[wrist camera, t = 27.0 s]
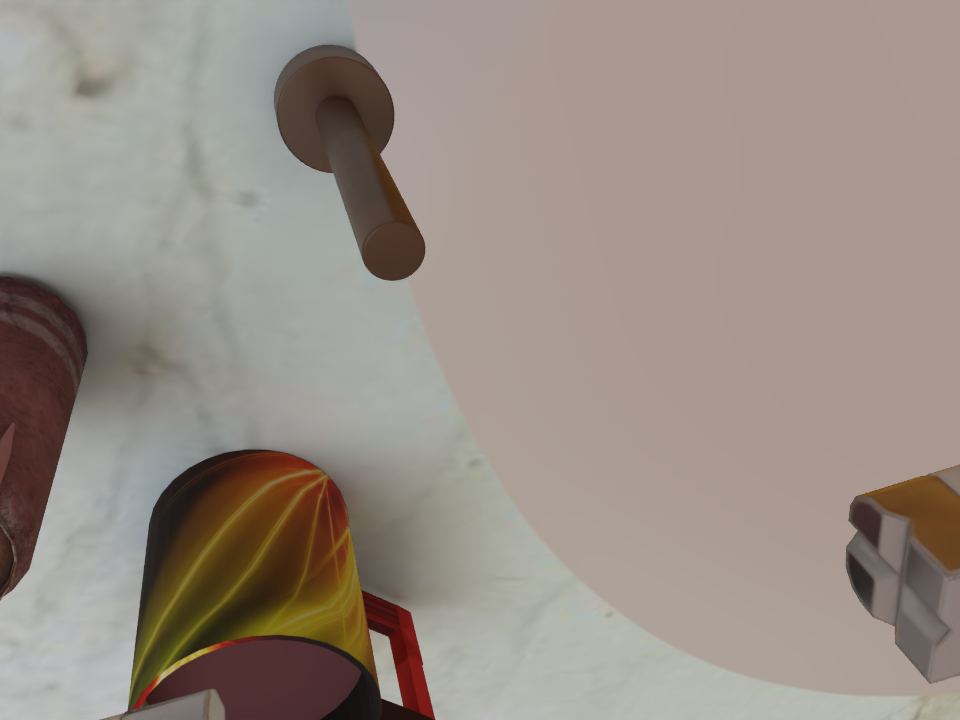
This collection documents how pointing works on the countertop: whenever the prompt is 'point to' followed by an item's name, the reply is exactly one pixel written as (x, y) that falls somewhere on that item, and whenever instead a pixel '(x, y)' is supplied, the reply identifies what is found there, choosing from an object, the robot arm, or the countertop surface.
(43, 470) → the can
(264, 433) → the countertop surface
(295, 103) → the disc-capped wooden dowel
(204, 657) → the mug
